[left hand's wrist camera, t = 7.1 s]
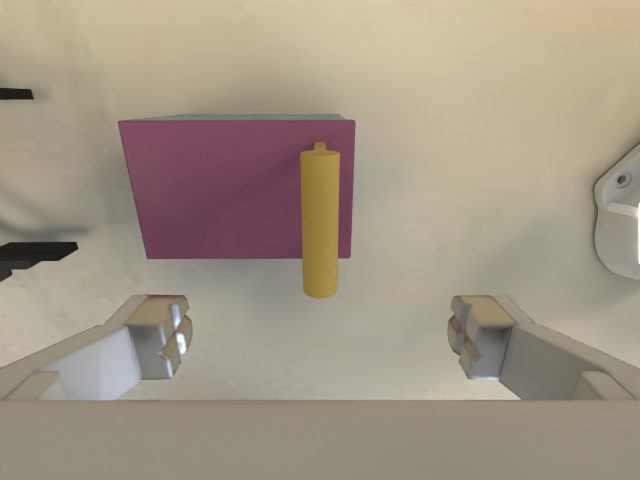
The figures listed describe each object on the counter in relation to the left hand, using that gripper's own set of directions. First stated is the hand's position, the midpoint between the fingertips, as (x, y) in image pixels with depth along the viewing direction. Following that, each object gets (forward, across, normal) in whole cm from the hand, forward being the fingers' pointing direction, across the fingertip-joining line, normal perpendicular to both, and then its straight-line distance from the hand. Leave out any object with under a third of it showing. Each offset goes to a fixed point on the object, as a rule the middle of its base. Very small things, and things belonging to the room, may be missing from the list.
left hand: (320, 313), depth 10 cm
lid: (+16, -5, 0) cm, 17 cm away
